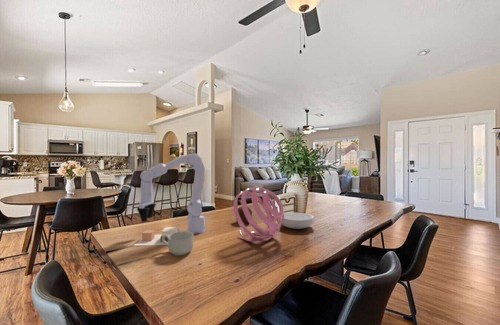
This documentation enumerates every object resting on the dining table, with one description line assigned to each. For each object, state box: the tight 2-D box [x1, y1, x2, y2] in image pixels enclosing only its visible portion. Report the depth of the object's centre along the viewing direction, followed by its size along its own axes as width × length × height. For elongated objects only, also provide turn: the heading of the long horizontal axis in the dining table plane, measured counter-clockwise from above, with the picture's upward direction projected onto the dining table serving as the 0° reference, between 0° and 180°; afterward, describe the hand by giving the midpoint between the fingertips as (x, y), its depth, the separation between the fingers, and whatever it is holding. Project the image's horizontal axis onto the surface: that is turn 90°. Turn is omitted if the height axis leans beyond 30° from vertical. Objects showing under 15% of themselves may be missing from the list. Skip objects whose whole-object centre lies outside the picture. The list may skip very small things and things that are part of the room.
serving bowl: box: [280, 212, 314, 230], centre depth 145 cm, size 21×21×7 cm
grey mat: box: [133, 233, 168, 247], centre depth 121 cm, size 20×16×1 cm
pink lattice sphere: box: [233, 186, 285, 243], centre depth 123 cm, size 28×28×27 cm
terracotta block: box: [141, 229, 155, 241], centre depth 120 cm, size 4×4×4 cm
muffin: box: [235, 206, 253, 225], centre depth 155 cm, size 12×11×10 cm
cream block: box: [161, 226, 180, 236], centre depth 121 cm, size 7×7×2 cm
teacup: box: [162, 230, 194, 257], centre depth 105 cm, size 14×11×8 cm
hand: (146, 219), depth 124 cm, fingers open, 7 cm apart
